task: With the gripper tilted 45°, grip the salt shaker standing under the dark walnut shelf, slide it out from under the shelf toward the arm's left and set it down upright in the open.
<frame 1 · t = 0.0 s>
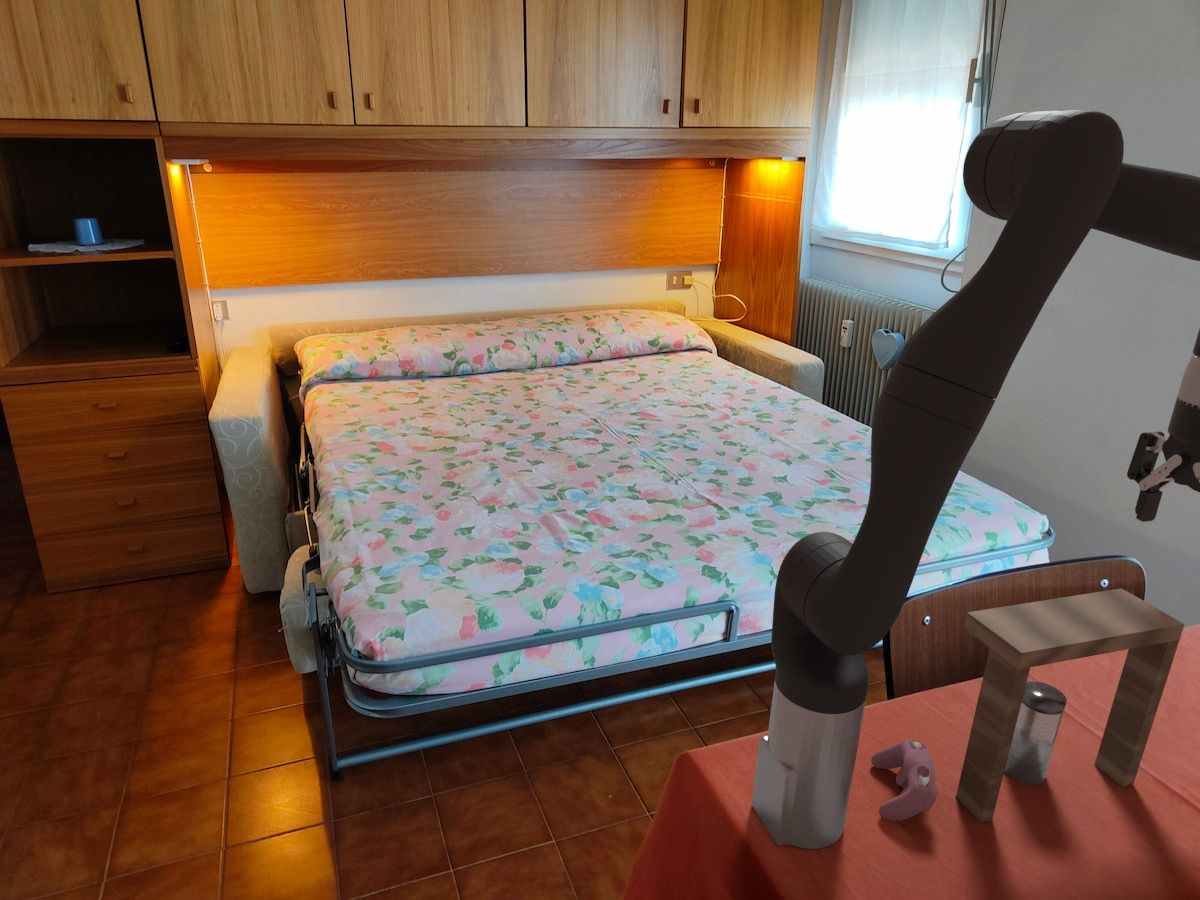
hand: (1178, 535, 94), 29 cm above the table, tool pointing down, fingers open, 8 cm apart
video game controller: (899, 796, 95), on the table
salt shaker: (1023, 770, 99), on the table
walnut shelf: (1032, 778, 98), on the table
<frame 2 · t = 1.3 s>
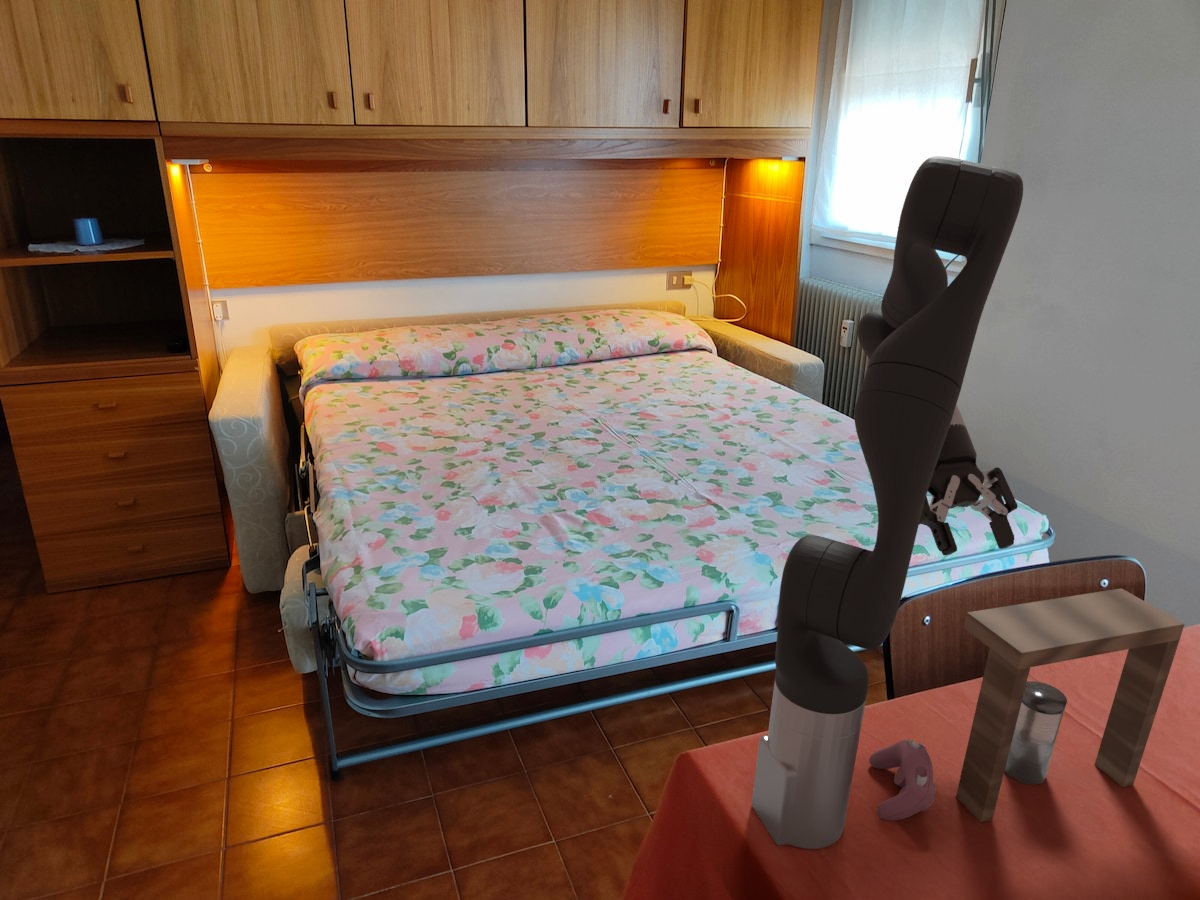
hand: (979, 550, 103), 23 cm above the table, tool tilted 45°, fingers open, 8 cm apart
nothing on the table moved.
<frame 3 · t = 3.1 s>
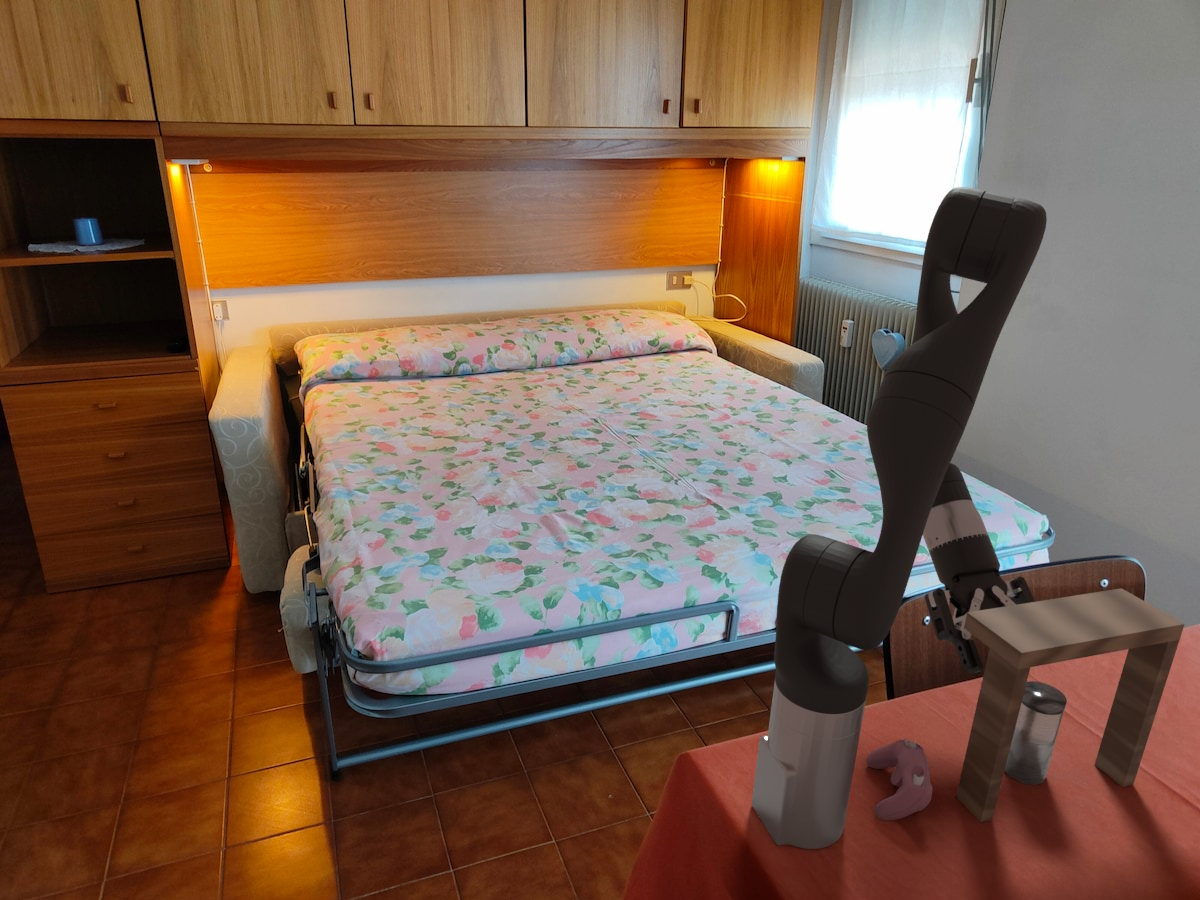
hand: (1005, 667, 100), 11 cm above the table, tool tilted 45°, fingers open, 8 cm apart
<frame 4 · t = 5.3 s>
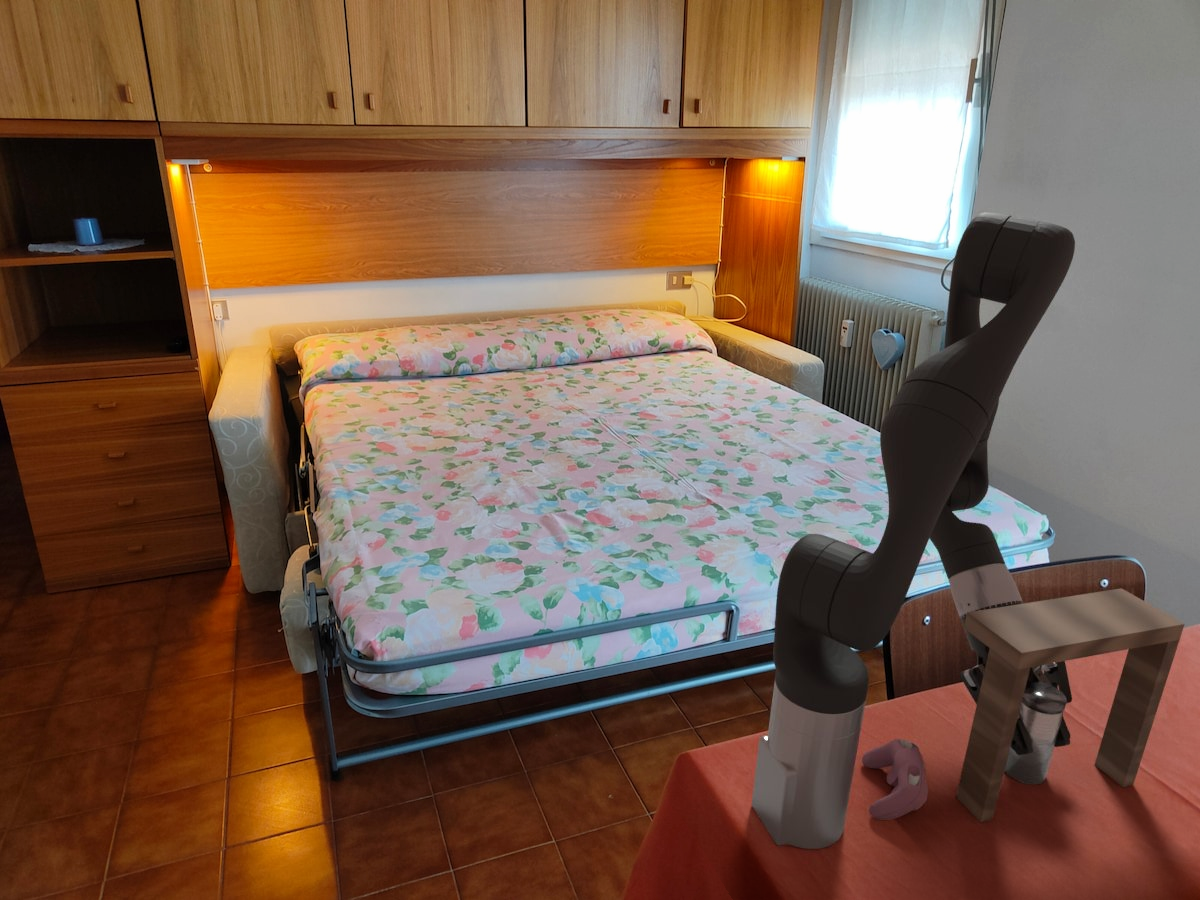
hand: (1043, 749, 96), 5 cm above the table, tool tilted 45°, fingers closed on salt shaker, 4 cm apart
salt shaker: (1023, 770, 99), on the table, touching gripper
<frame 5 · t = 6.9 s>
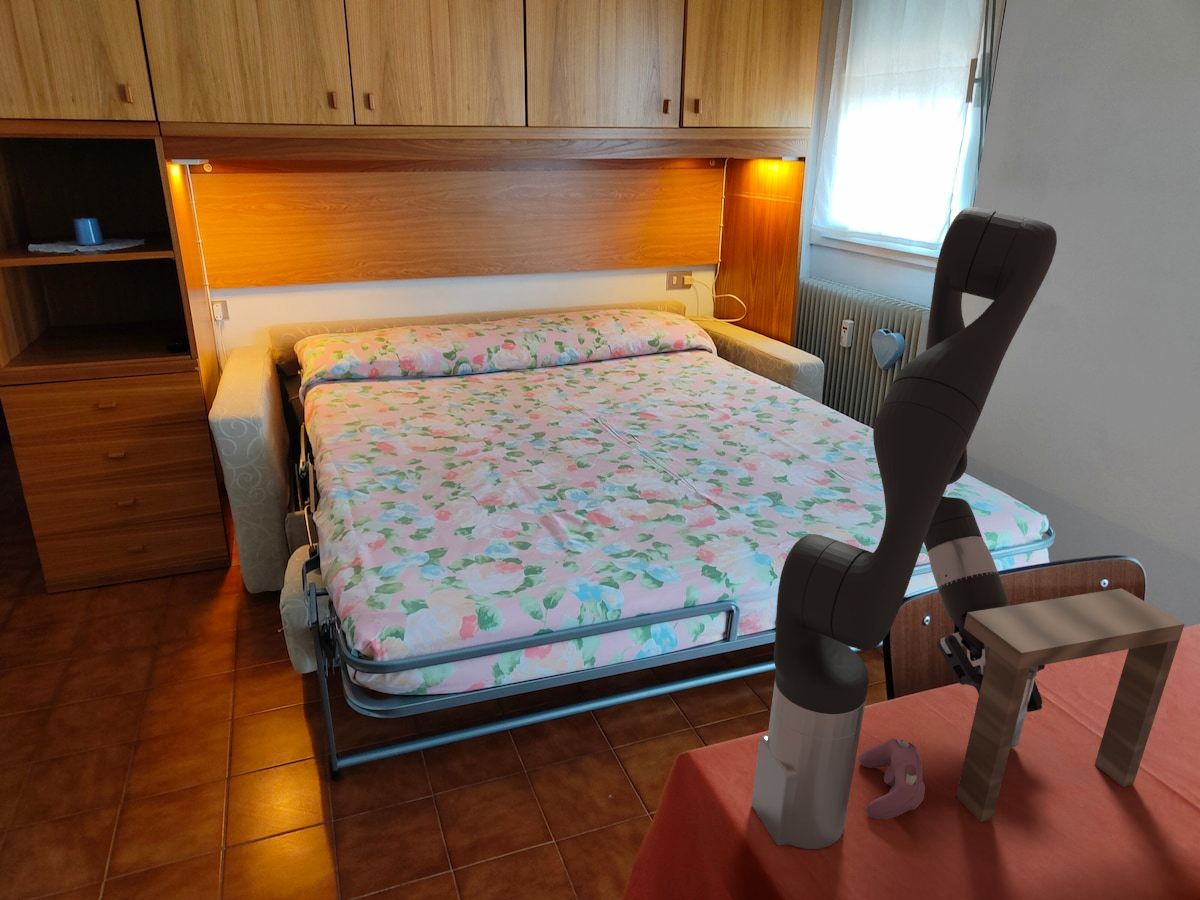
hand: (1016, 713, 99), 6 cm above the table, tool tilted 45°, fingers closed on salt shaker, 4 cm apart
salt shaker: (997, 734, 103), point 1 cm above the table, touching gripper
when the fingers open (6 cm above the table, at t = 8.6 s): salt shaker stays where it is, on the table.
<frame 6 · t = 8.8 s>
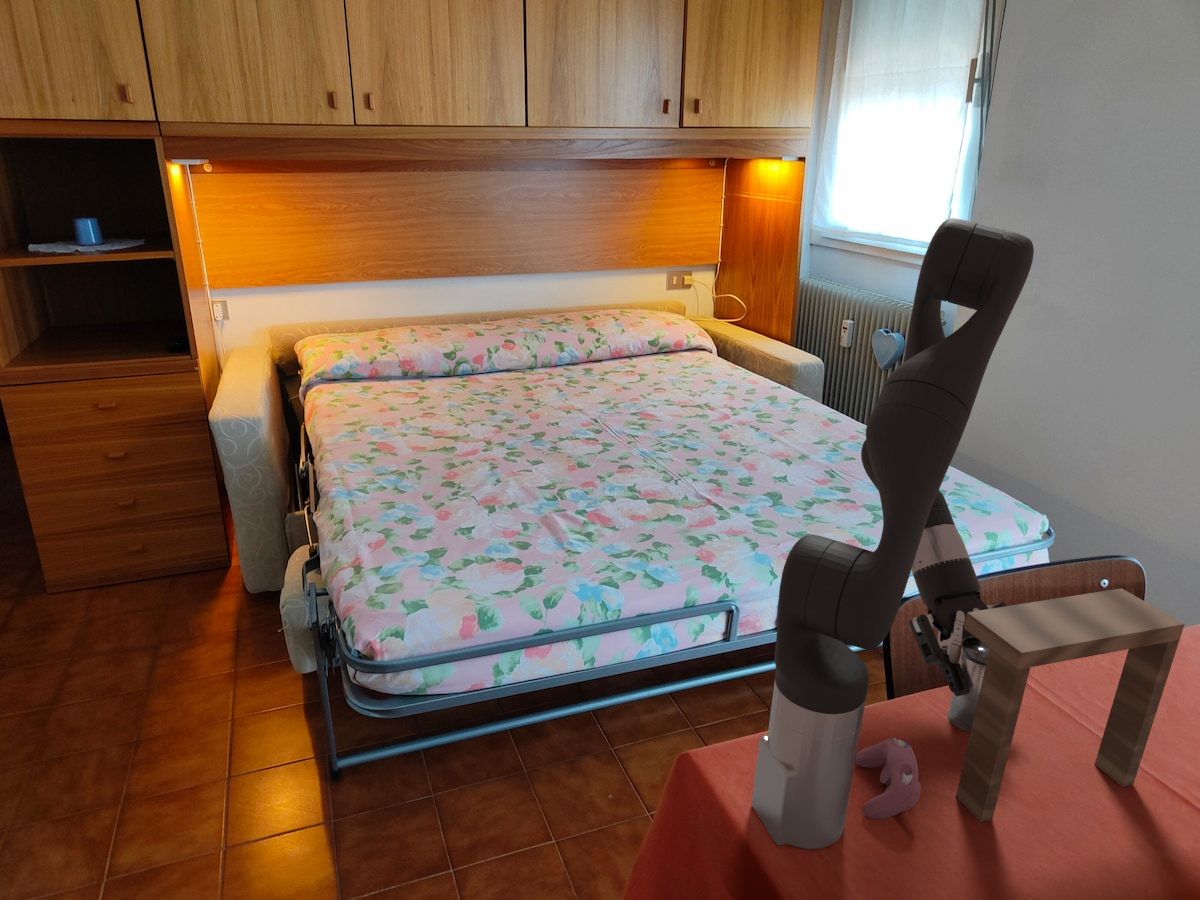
hand: (985, 690, 104), 6 cm above the table, tool tilted 45°, fingers open, 6 cm apart
salt shaker: (967, 720, 107), on the table
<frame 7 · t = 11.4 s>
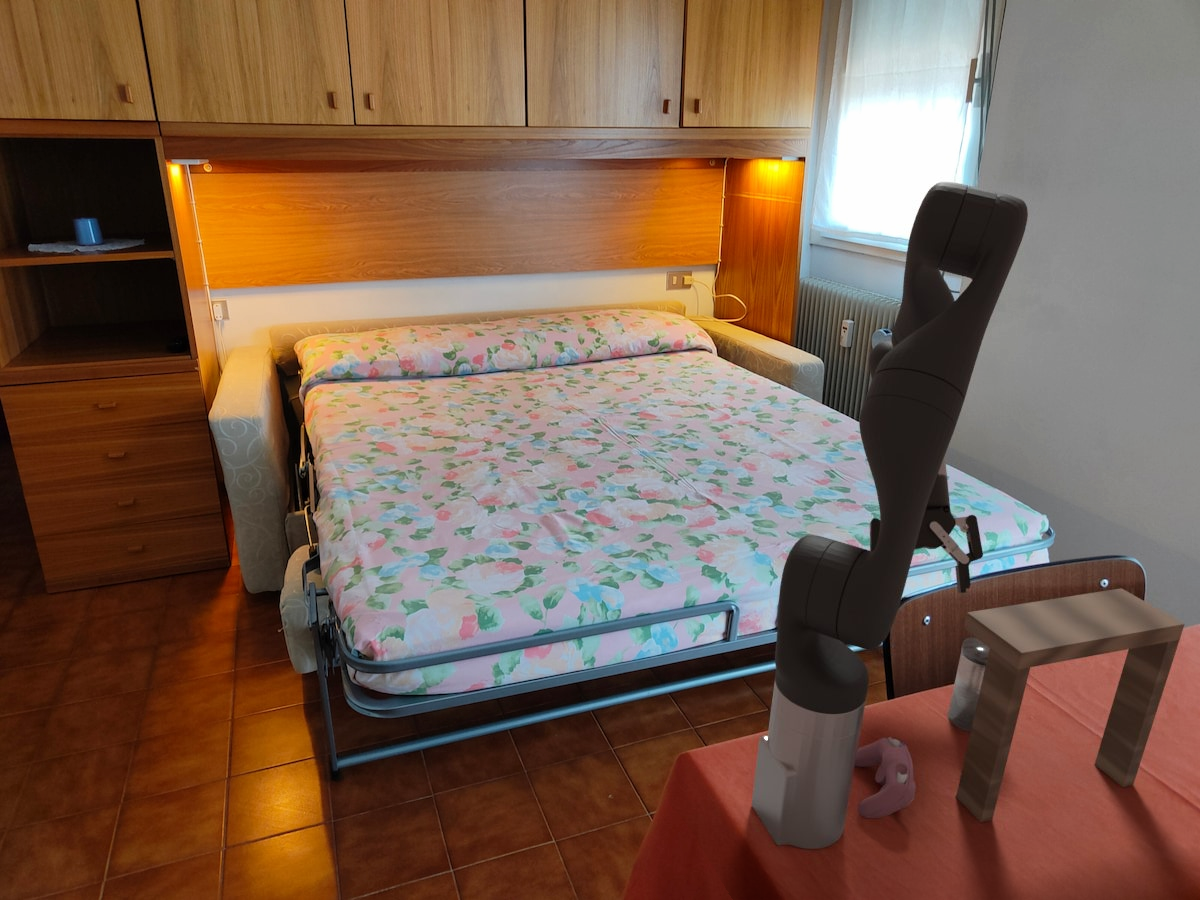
hand: (928, 593, 112), 13 cm above the table, tool tilted 30°, fingers open, 8 cm apart
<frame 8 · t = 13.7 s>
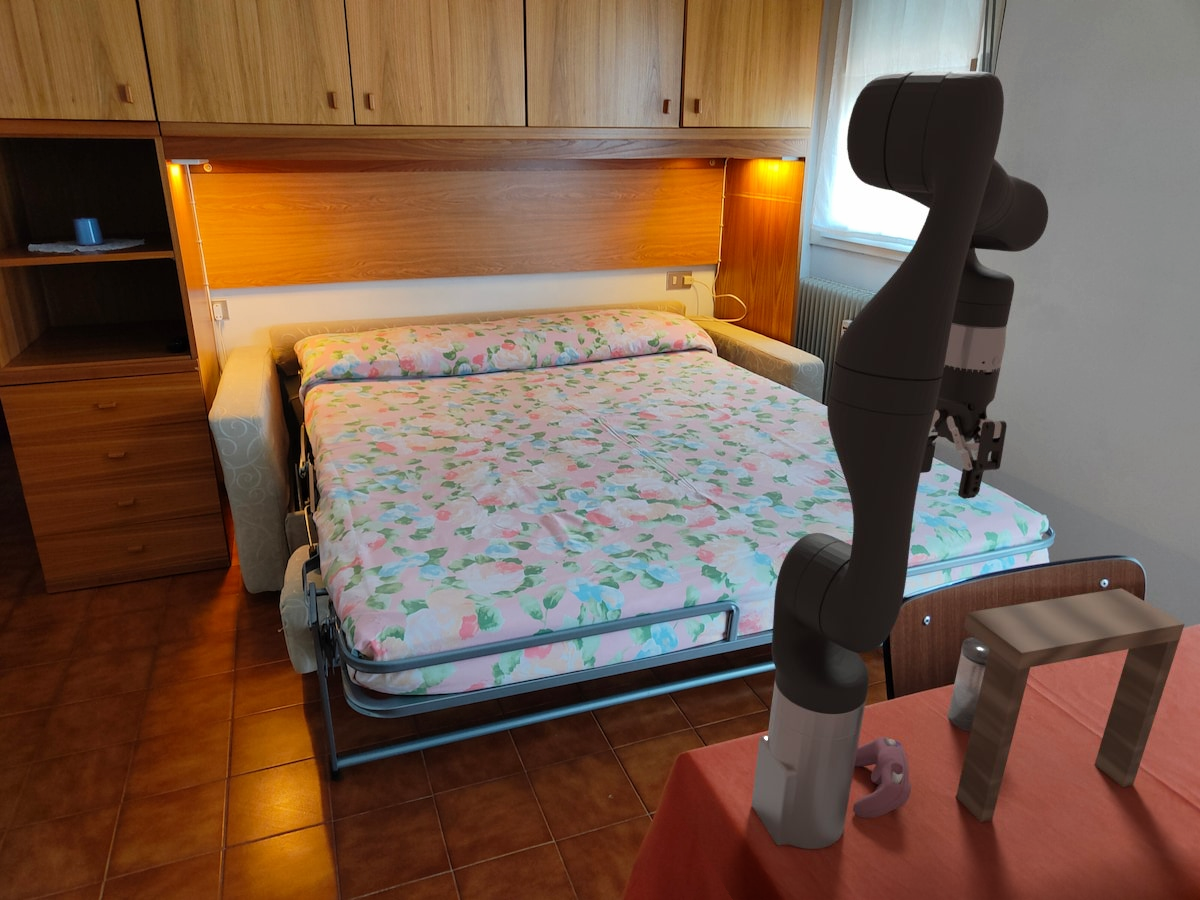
hand: (943, 484, 104), 30 cm above the table, tool pointing down, fingers open, 8 cm apart
at the end: salt shaker inside the target area (0.4 cm from its centre), on the table; salt shaker tilted 0°; the gripper is holding nothing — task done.
